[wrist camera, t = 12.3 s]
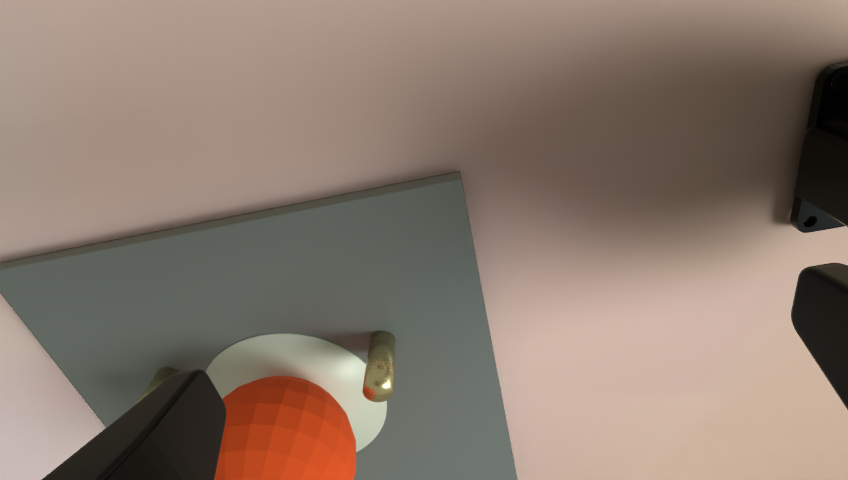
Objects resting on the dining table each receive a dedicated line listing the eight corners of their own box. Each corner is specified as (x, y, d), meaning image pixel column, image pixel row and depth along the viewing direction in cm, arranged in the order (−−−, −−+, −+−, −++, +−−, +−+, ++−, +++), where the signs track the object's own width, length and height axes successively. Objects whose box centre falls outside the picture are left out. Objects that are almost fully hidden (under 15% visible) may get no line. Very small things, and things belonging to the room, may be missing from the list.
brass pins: (392, 328, 22) (388, 378, 19) (436, 471, 27) (438, 526, 24) (152, 369, 23) (117, 421, 20) (237, 498, 28) (218, 553, 25)
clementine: (391, 441, 25) (381, 597, 19) (270, 467, 26) (223, 623, 20) (332, 327, 21) (295, 474, 15) (192, 362, 22) (104, 513, 16)
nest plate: (459, 171, 19) (461, 180, 18) (518, 484, 28) (521, 499, 28) (-1, 263, 21) (-17, 274, 20) (200, 527, 30) (194, 541, 30)
